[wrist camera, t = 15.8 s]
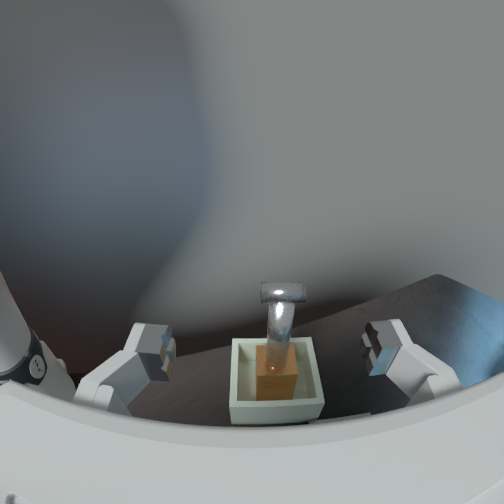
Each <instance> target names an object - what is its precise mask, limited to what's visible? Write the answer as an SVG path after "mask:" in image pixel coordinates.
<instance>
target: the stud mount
mask: <svg viewBox="0 0 504 504" xmlns="http://www.w3.org/2000/svg"><path fill="white" fill-rule="evenodd" d="M370 415H371V414H370V412H369V413H364V414H358V415H352V416H346V417H339V418H332V419H324V420H315V421H309V422H308V424H317V423H326V422H333V421H341V420H347V419H353V418H359V417H365V416H370Z"/></svg>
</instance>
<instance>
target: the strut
mask: <svg viewBox="0 0 504 504" xmlns="http://www.w3.org/2000/svg"><path fill="white" fill-rule="evenodd" d="M260 297H261V304H269V316H268V332H267V333H268V334H267V345H256V367H255V381H256V401H275V400H292V398H293V394H294V390H295V386H296V382H297V377H298V369H297V363H296V356H295V350H294V344H293V345H289V343H290V337H291V330H292V322H293V315H294V307H295V303H305V302H306V299H307V287H306V283H305V282H261V287H260Z"/></svg>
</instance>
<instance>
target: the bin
mask: <svg viewBox="0 0 504 504" xmlns="http://www.w3.org/2000/svg"><path fill="white" fill-rule="evenodd" d="M293 344H294V350H295V356H296V363H297V369H298V377H297V382H296V386H295V390H294V394H293V398H292V400H275V401H256V381H255V367H256V345H267V339H233V340H232V359H231V379H230V401H229V409H230V416H231V423H232V424H279V423H295V422H307V421H315V420H317V419H318V417H319V415H320V413H321V410H322V408H323V406H324V404H325V401H324V396H323V391H322V386H321V381H320V376H319V371H318V367H317V362H316V357H315V353H314V348H313V344H312V339H311V337H300V338H290V343H289V345H293Z"/></svg>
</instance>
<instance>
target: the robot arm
mask: <svg viewBox="0 0 504 504" xmlns="http://www.w3.org/2000/svg"><path fill="white" fill-rule="evenodd" d="M365 331H366V333H365V334H364V335H362V337H361V340H360V352H361V355H362V357H363V358H365V359H366V363H365V367H366V369H367V372H368V375H369V376H373V375H381V374H386V375H387V376H388V377H389V378H390V379H391V380H392V381H393V382H394V383H395V384H396V385H397V386H398V387H399V388H400V389H401V390H402V391H403V392H404V393H405V394H406V395H407V396H408V397H409V398H411V400H410V401H409V403H408V404H407V405H406V407H405V408H401V409H397V410H393V411H389V412H384V413H380V414H375V415H370V416H365V417H359V418H353V419H347V420H341V421H333V422H326V423H317V424H307V425H295V426H278V427H218V426H201V425H189V424H179V423H170V422H163V421H156V420H149V419H143V418H137V417H133V416H132V415H131V414H130V412H129V411H128V409H127V408H126V406H127V405H128V404H129V403H130V402H131V401H132V400H133V399H134V398H135V397H136V396H137V395H138V394H139V393H140V392H141V391H142V389H143V388H144V387H145V386H146V385H147V384H148V383H149V382H150V381H151V380H158V381H170V377H171V373H172V366H171V363H172V362H173V361H174V360H175V355H176V345H175V340H174V339H173V338H172V337H171V335H172V329H171V326H169V325H157V324H145V323H135V324H134V325H133V328H132V330H131V332H130V335H129V337H128V340H127V342H126V345H125V347H124V350H123V351H119V352H117V353H116V354H115V355H113V356H112V357H111V358H109V359H108V360H106V361H105V362H104V363H102V364H101V365H100V366H98V367H97V368H96V369H94V370H93V371H92V372H90V373H89V374H88V375H86V376H85V377H84V378H82V379H81V381H80V384H79V386H78V389H77V391H76V389H75V385H74V382H73V380H72V379H71V377H70V376H69V375H68V373H67V369H66V364H65V362H64V361H63V360H62V359H57V358H56V357H55V356H54V354H53V353H52V352H51V351H50V349H49V348H48V347H47V345H46V344H45V343H44V342H43V341H39V340H38V338H37V336H36V334H35V333H34V331H33V330H32V329H31V327H30V326H29V325H27V324H26V322H25V321H24V319H23V317H22V315H21V313H20V311H19V310H18V308H17V306H16V304H15V302H14V300H13V298H12V296H11V293H10V291H9V289H8V287H7V285H6V283H5V281H4V279H3V276H2V274H1V272H0V504H504V371H503V372H501V373H499V374H497V375H494V376H492V377H490V378H488V379H486V380H483V381H481V382H479V383H476V384H474V385H471V386H469V387H466V388H464V389H463V388H462V386H461V384H460V382H459V380H458V378H457V376H456V374H455V372H454V370H453V369H452V368H451V367H449V366H448V365H446V364H445V363H443V362H442V361H440V360H439V359H438V358H436V357H435V356H433V355H432V354H430V353H429V352H427V351H426V350H424V349H423V348H421V347H420V346H418V345H417V344H413V343H412V341H411V339H410V337H409V335H408V333H407V331H406V330H405V328H404V326H403V324H402V322H401V321H400V320H399V319H392V320H384V321H375V322H368V323H367V324H366V326H365Z"/></svg>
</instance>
